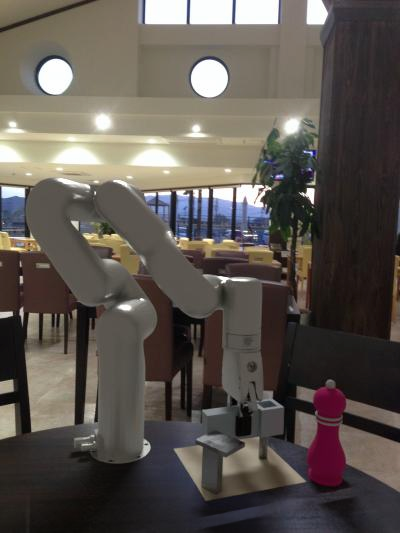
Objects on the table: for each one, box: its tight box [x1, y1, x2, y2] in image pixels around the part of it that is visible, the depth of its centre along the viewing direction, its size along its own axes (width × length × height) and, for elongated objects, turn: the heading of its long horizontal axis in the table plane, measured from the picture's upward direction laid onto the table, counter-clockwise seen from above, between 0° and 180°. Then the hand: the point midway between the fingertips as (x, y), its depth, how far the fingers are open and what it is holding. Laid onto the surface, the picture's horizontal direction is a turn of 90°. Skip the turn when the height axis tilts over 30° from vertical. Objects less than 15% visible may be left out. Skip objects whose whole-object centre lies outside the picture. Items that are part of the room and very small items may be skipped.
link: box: [201, 398, 285, 440], centre depth 89 cm, size 16×5×6 cm, turn 110°
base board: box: [173, 436, 307, 502], centre depth 88 cm, size 20×19×1 cm
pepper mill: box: [306, 379, 347, 493], centre depth 84 cm, size 7×7×20 cm
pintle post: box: [258, 436, 269, 459], centre depth 91 cm, size 2×2×8 cm
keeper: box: [195, 430, 245, 495], centre depth 81 cm, size 6×7×9 cm
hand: (239, 430), depth 89 cm, fingers closed on link, 3 cm apart
